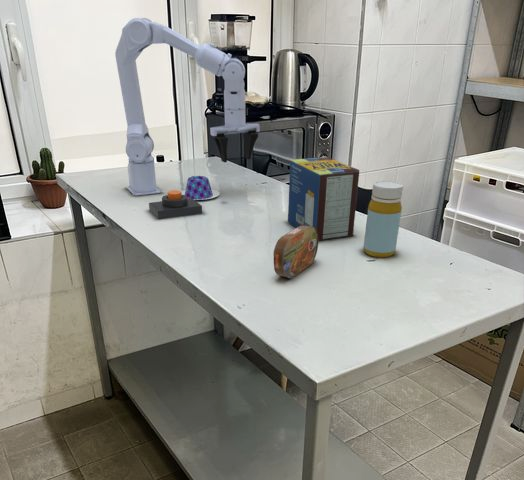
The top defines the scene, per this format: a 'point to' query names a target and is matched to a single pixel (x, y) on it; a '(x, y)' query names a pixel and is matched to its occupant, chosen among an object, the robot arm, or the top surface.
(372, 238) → the bottle
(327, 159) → the protein box
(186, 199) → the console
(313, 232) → the tin
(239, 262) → the top surface
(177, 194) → the button
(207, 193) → the pudding
